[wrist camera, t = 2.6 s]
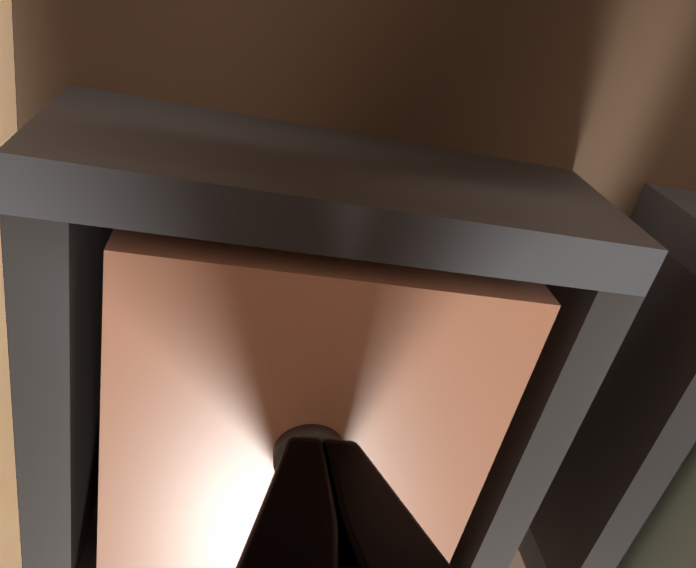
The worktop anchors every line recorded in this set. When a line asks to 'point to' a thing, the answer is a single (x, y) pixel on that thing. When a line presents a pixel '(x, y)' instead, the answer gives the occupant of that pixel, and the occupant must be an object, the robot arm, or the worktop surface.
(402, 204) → the button panel
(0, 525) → the worktop surface
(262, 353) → the button terracotta
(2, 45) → the worktop surface
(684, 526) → the button sage
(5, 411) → the worktop surface
